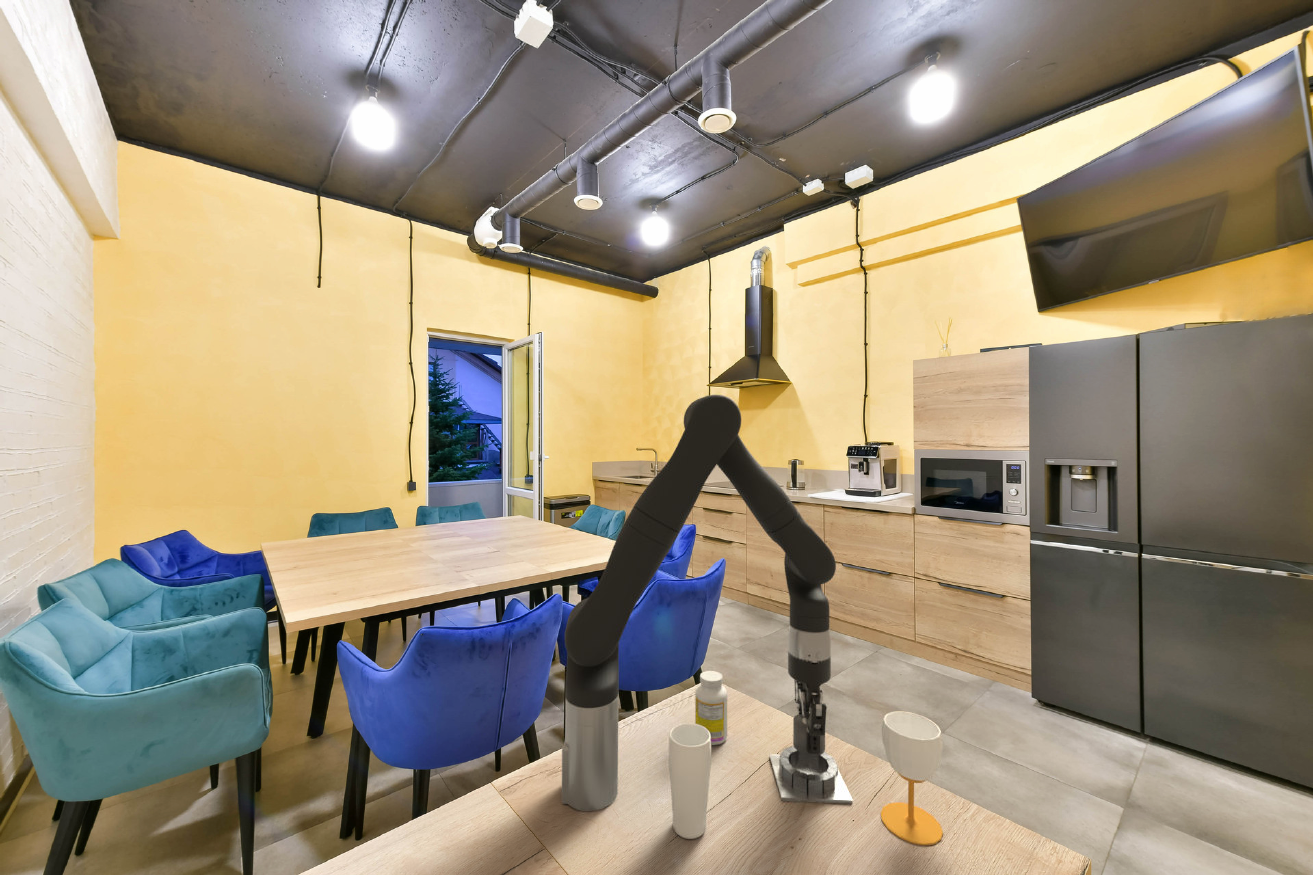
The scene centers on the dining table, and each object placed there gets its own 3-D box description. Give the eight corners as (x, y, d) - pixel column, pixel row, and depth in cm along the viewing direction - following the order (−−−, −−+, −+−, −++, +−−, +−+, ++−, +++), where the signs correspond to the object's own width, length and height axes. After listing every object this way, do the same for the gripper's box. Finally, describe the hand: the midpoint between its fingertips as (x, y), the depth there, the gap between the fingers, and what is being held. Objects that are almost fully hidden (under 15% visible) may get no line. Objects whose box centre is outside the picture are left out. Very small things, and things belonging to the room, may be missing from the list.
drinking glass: (708, 848, 77) (709, 749, 77) (664, 840, 78) (665, 743, 78) (712, 815, 84) (713, 724, 84) (672, 809, 85) (672, 720, 85)
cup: (911, 798, 88) (911, 706, 88) (956, 837, 80) (957, 735, 80) (868, 809, 85) (869, 714, 85) (910, 851, 77) (911, 745, 77)
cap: (797, 755, 90) (797, 728, 90) (790, 736, 96) (790, 712, 96) (828, 756, 90) (829, 730, 90) (820, 737, 96) (820, 713, 96)
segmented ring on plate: (781, 800, 87) (781, 782, 87) (769, 756, 99) (769, 741, 99) (852, 803, 87) (852, 785, 87) (831, 759, 99) (831, 743, 99)
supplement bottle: (705, 724, 110) (705, 665, 110) (732, 735, 107) (733, 673, 107) (689, 739, 105) (689, 677, 105) (717, 750, 101) (717, 686, 101)
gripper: (780, 634, 100) (780, 719, 100) (797, 667, 86) (797, 767, 86) (819, 635, 100) (818, 721, 100) (842, 668, 86) (842, 768, 86)
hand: (808, 741), depth 93 cm, fingers closed on cap, 5 cm apart
